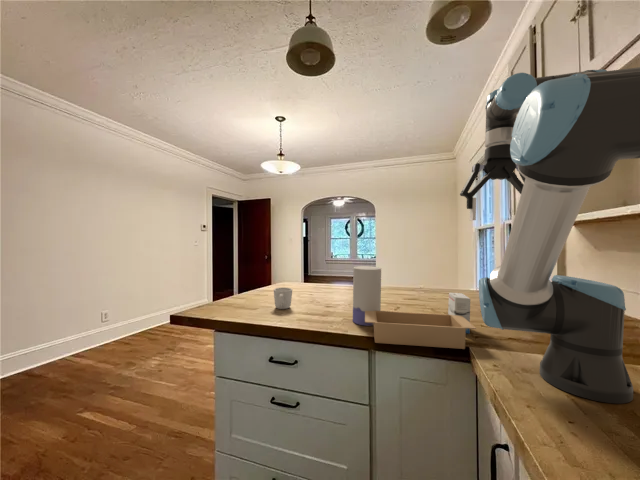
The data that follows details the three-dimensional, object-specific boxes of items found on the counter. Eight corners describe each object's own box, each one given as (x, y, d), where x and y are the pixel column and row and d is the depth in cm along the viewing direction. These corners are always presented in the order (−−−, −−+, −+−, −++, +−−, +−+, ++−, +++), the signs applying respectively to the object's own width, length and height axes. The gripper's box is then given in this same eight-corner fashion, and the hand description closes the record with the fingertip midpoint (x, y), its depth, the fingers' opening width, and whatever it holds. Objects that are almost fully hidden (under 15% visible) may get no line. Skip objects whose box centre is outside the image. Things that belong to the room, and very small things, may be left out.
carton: (476, 349, 81) (476, 328, 81) (364, 341, 86) (365, 322, 86) (460, 333, 94) (461, 315, 94) (364, 327, 99) (364, 310, 99)
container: (385, 321, 106) (386, 267, 105) (370, 328, 98) (371, 270, 98) (362, 316, 112) (363, 265, 112) (347, 321, 105) (348, 267, 104)
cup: (290, 312, 116) (290, 292, 116) (270, 312, 116) (270, 292, 116) (293, 305, 127) (293, 287, 127) (275, 305, 127) (275, 287, 127)
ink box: (470, 334, 94) (471, 298, 94) (454, 332, 95) (455, 297, 94) (461, 325, 102) (462, 292, 102) (447, 324, 103) (448, 292, 103)
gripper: (539, 149, 85) (537, 221, 85) (450, 151, 89) (448, 220, 89) (556, 141, 77) (553, 220, 78) (458, 144, 81) (456, 219, 82)
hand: (497, 220), depth 84 cm, fingers open, 13 cm apart
